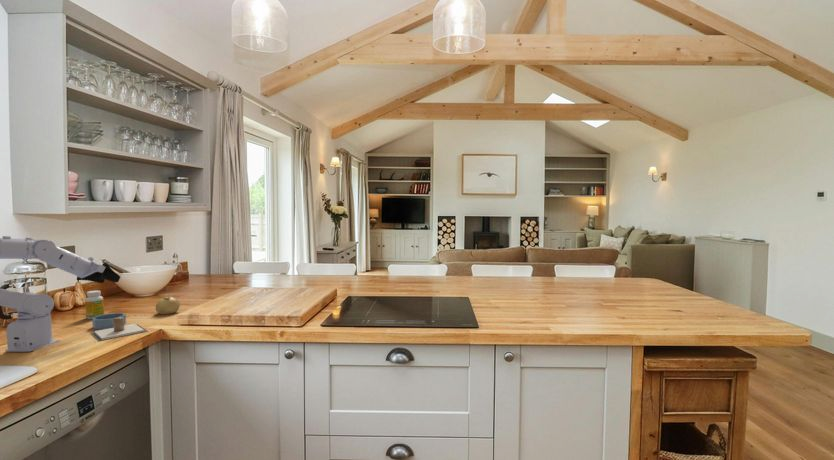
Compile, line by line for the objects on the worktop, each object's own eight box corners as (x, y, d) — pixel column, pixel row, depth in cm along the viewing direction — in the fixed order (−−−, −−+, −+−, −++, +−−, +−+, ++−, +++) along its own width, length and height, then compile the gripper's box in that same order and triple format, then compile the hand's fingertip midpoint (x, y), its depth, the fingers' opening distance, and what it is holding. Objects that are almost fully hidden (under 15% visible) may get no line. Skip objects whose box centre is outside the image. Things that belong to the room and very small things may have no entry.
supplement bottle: (94, 319, 153) (92, 293, 153) (82, 319, 155) (80, 292, 154) (108, 315, 159) (106, 290, 158) (96, 315, 160) (94, 289, 159)
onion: (150, 316, 157) (149, 297, 157) (168, 310, 165) (167, 292, 164) (167, 317, 155) (166, 298, 154) (185, 311, 162) (184, 293, 162)
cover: (144, 331, 135) (143, 317, 135) (101, 340, 127) (100, 325, 127) (134, 325, 142) (134, 312, 142) (94, 333, 134) (93, 318, 134)
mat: (148, 332, 135) (148, 331, 135) (98, 342, 126) (98, 341, 126) (137, 325, 144) (137, 324, 144) (90, 334, 134) (90, 333, 134)
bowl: (111, 330, 139) (111, 319, 138) (86, 330, 139) (85, 319, 139) (132, 322, 148) (131, 312, 147) (108, 322, 148) (107, 313, 148)
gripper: (91, 249, 131) (130, 268, 141) (63, 252, 136) (103, 270, 147) (79, 270, 127) (121, 287, 138) (51, 272, 133) (93, 288, 144)
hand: (111, 279), depth 142 cm, fingers open, 7 cm apart
